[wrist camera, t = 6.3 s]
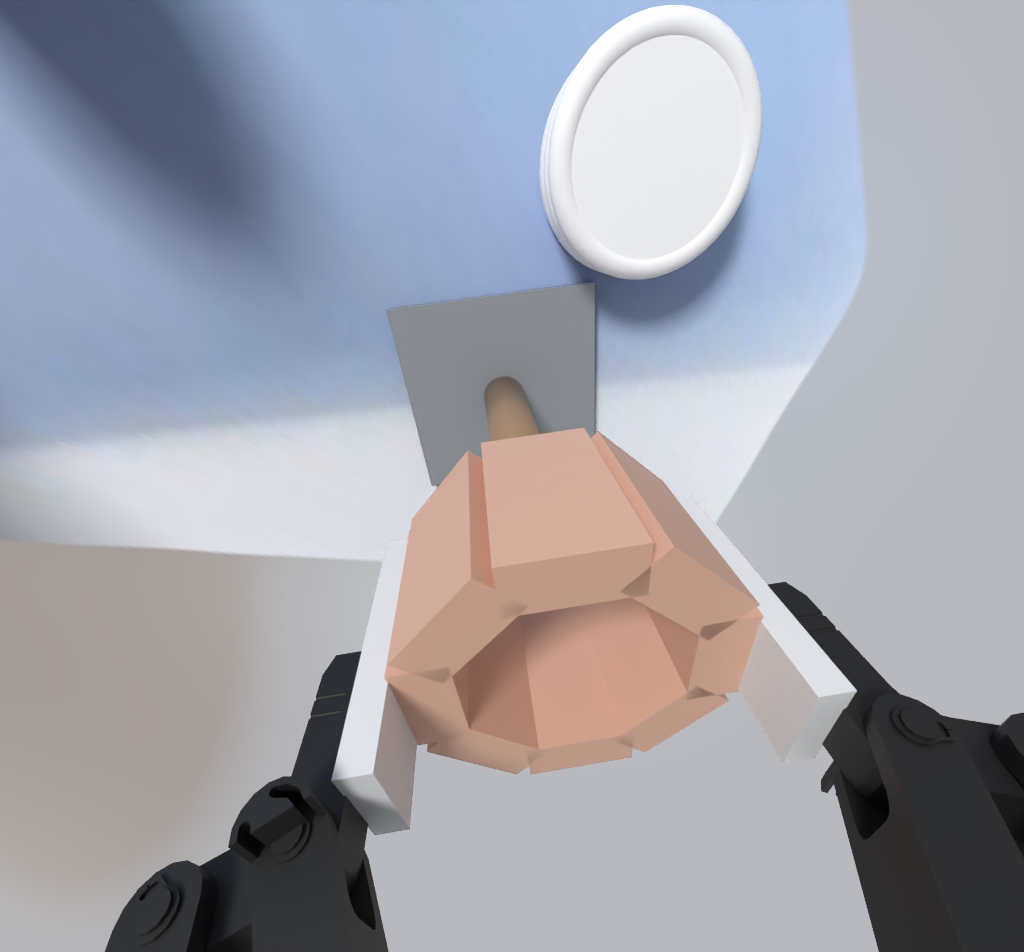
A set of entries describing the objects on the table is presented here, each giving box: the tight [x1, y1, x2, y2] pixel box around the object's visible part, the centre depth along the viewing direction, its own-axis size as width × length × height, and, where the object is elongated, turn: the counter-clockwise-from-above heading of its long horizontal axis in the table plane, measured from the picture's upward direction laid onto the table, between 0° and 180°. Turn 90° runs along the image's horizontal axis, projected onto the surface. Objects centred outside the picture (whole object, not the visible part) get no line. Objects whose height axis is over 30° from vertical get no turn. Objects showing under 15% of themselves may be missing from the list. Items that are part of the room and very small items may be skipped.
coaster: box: [540, 5, 762, 280], centre depth 20 cm, size 10×10×4 cm
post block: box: [387, 282, 595, 486], centre depth 23 cm, size 12×12×10 cm
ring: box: [384, 428, 764, 774], centre depth 12 cm, size 8×8×5 cm
